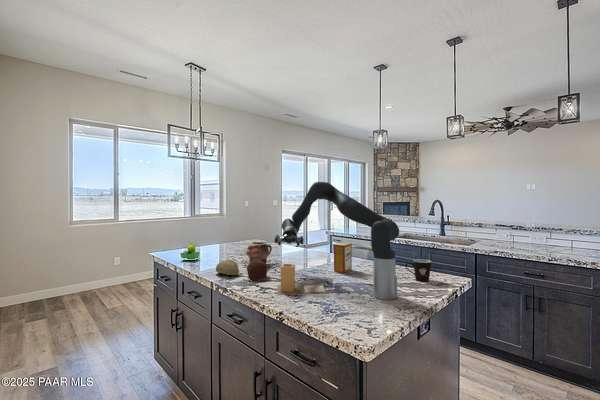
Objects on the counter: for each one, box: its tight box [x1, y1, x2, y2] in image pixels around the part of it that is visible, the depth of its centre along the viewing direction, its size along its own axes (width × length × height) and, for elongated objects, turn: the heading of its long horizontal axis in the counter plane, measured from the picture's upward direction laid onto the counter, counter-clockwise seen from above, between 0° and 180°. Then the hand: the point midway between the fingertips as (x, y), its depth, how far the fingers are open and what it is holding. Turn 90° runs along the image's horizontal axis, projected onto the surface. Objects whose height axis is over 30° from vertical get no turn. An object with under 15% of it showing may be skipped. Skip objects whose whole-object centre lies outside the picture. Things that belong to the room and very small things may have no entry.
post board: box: [276, 283, 328, 296], centre depth 139 cm, size 22×14×10 cm, turn 92°
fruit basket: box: [179, 242, 201, 259], centre depth 210 cm, size 11×9×11 cm
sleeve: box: [280, 263, 296, 292], centre depth 139 cm, size 6×6×11 cm
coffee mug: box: [405, 258, 432, 283], centre depth 158 cm, size 12×9×10 cm
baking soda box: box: [333, 242, 353, 274], centre depth 177 cm, size 10×6×16 cm
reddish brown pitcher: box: [245, 241, 273, 264], centre depth 195 cm, size 20×12×14 cm, turn 141°
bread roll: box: [215, 259, 240, 276], centre depth 172 cm, size 10×15×8 cm, turn 59°
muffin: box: [246, 260, 269, 281], centre depth 160 cm, size 12×11×10 cm
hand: (288, 244), depth 145 cm, fingers open, 8 cm apart
